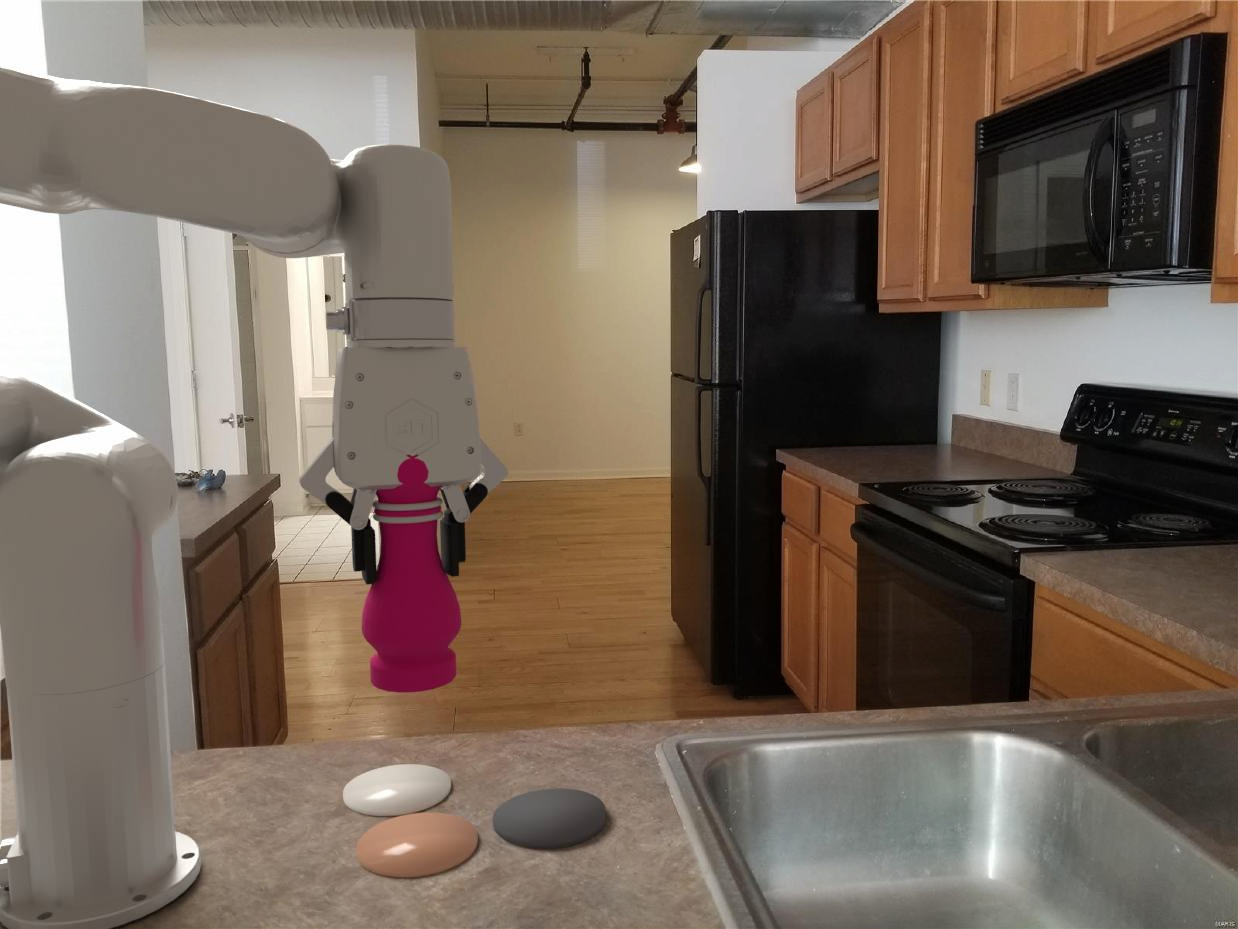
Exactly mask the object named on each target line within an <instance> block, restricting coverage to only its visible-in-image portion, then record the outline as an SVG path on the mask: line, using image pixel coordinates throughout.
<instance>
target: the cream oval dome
mask: <svg viewBox="0 0 1238 929" xmlns="http://www.w3.org/2000/svg"><path fill="white" fill-rule="evenodd" d="M451 782H452V781H451V778H450V775H449V774H447V773H446V772H445V771H444V770H442V769H440V768H438V767H434V766H432V765H431V766H430V765H426V764H417V763H416V764H413V763H412V764H411V763H408V764H407V763H406V764H394V765H388V766H387V765H386V766H382V767H378V768H375V769H371V770H368V771H366V772H364V773H362V774H361V773H360V774H359V775H357V776H355V777H354V778H352V779H351V780H350V781H349V782H348V783H347V784H346V785H345V786H344V787H343V791H342V799H343V801H342V802H343V804H345V806H346V807H347V808H349V809H350V810H351V811H353V812H355V813H359V814H363V815H366V816H374V817H376V816H377V817H393V816H394V817H395V816H396V817H397V816H403V815H408V814H414V813H419V812H421V811H424V810H427V809H429V808H431V807H433V806H435V805H437V804H439V803H440V802H442V801H443V800H444V799H445V798H447V796H448V795H449V794H450V792H451V789H452V783H451Z"/></svg>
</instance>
